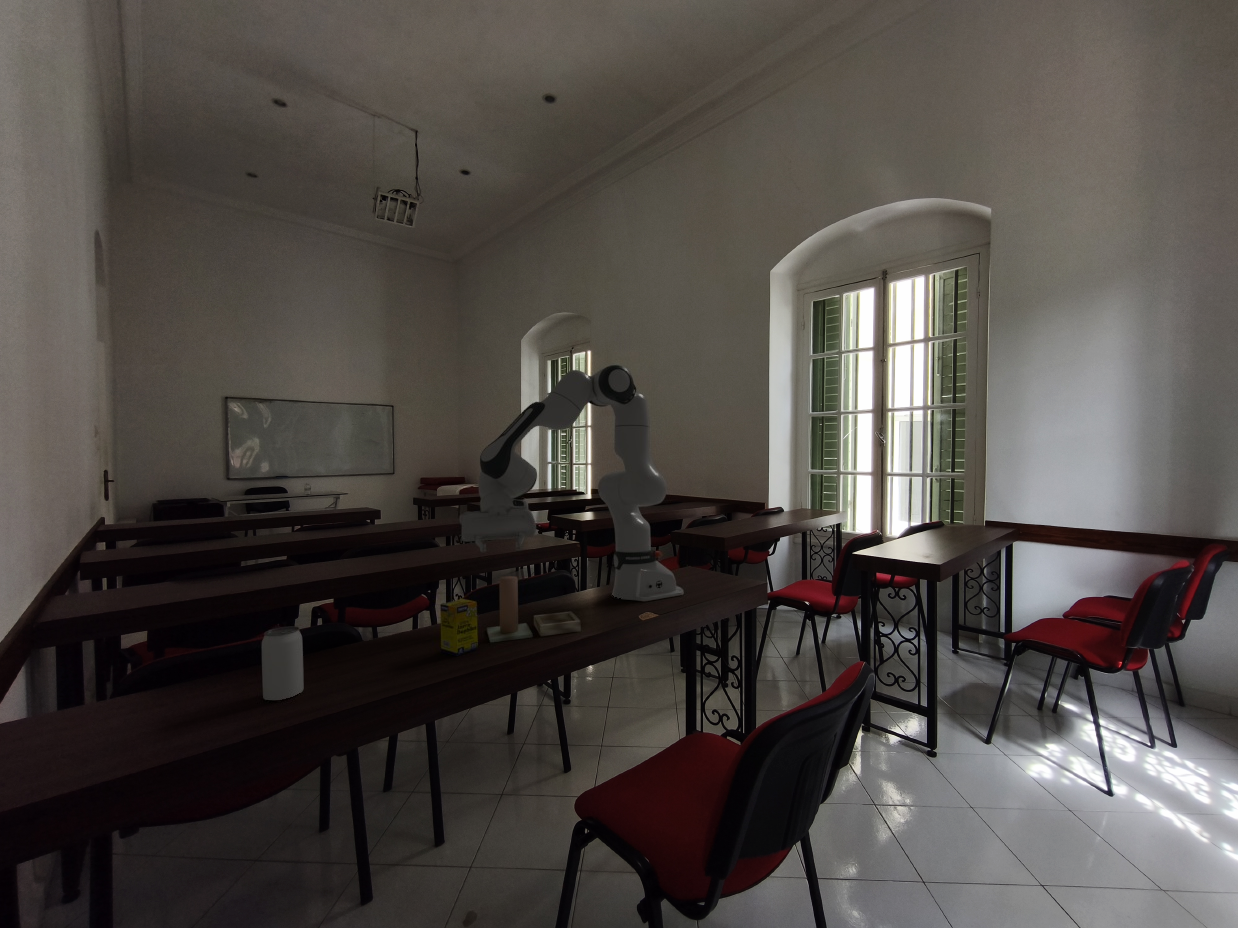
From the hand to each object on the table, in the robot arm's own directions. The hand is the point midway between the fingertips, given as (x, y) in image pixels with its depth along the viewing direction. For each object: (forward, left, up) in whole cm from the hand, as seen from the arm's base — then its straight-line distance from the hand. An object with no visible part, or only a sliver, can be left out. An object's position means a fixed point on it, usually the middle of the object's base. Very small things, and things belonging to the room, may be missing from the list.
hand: (501, 549), depth 148 cm
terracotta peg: (0, +12, -18) cm, 22 cm away
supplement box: (+12, +20, -19) cm, 31 cm away
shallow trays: (-6, +12, -19) cm, 24 cm away
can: (+44, +33, -19) cm, 59 cm away
